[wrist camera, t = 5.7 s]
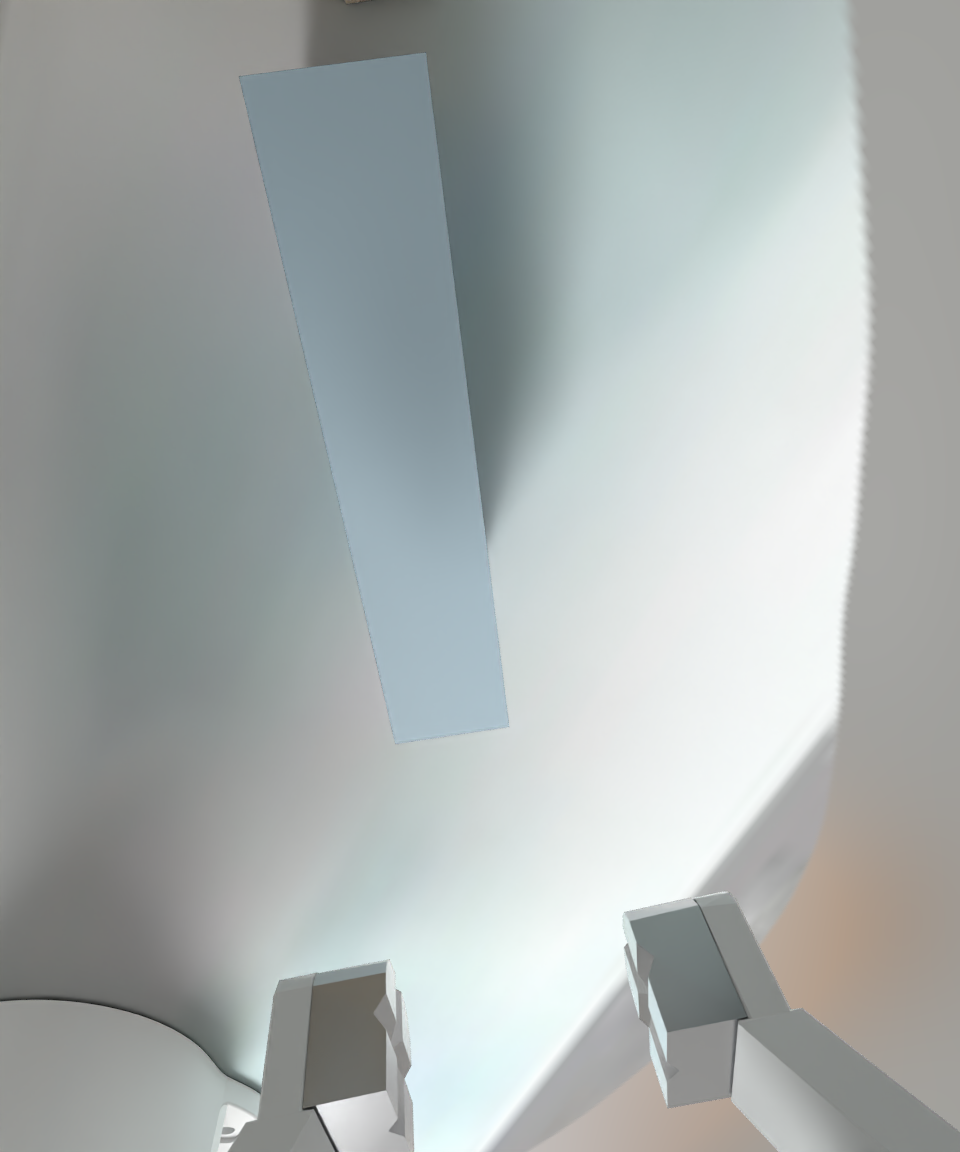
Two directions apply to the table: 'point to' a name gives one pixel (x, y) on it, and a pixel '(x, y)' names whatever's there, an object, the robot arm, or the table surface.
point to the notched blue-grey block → (387, 372)
